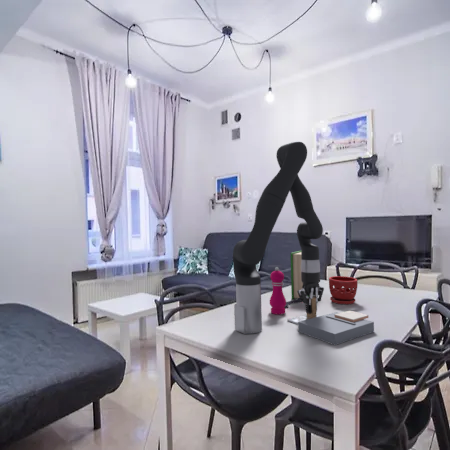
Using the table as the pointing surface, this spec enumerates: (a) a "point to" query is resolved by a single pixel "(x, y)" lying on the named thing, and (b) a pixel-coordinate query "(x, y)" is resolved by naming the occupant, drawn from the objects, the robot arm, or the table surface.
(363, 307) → the table surface
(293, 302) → the bracket
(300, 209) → the robot arm
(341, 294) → the plant pot
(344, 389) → the table surface
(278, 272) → the pepper mill
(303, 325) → the tile stand
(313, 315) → the trowel
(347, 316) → the tile
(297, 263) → the hardback book
